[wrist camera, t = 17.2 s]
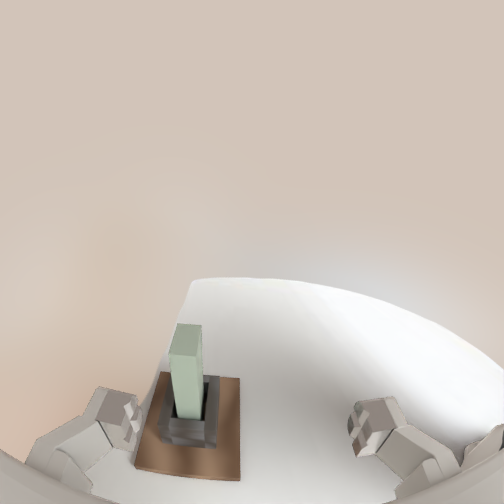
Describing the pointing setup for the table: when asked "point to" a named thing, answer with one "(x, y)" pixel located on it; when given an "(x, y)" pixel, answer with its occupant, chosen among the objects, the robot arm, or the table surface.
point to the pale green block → (187, 371)
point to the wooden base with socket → (193, 433)
